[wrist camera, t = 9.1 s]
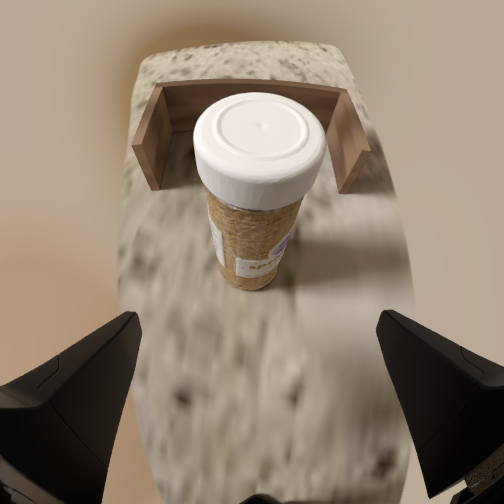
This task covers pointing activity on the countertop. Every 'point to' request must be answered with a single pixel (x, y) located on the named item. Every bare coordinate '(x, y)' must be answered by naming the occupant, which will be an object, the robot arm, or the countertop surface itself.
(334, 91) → the walnut crate
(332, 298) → the countertop surface
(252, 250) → the sprinkles bottle
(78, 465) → the robot arm
